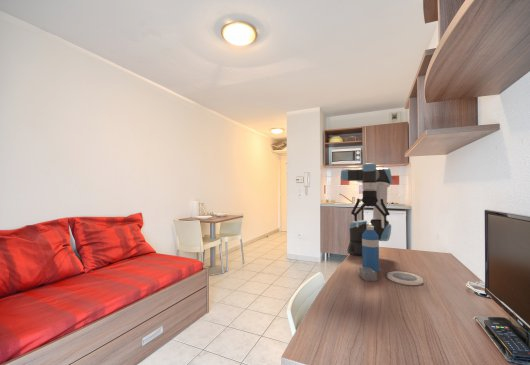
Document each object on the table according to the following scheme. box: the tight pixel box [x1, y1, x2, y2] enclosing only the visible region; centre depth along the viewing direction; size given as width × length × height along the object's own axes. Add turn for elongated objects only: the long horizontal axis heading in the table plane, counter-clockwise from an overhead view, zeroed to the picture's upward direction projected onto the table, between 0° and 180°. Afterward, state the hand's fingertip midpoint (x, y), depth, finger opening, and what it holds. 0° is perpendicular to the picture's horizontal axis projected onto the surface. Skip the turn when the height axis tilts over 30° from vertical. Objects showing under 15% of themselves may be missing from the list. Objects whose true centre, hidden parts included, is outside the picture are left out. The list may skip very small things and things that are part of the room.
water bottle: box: [361, 226, 380, 274], centre depth 137 cm, size 9×9×25 cm
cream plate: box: [386, 270, 424, 286], centre depth 123 cm, size 16×16×1 cm
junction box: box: [358, 266, 378, 282], centre depth 125 cm, size 8×6×4 cm
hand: (370, 227), depth 137 cm, fingers open, 13 cm apart
